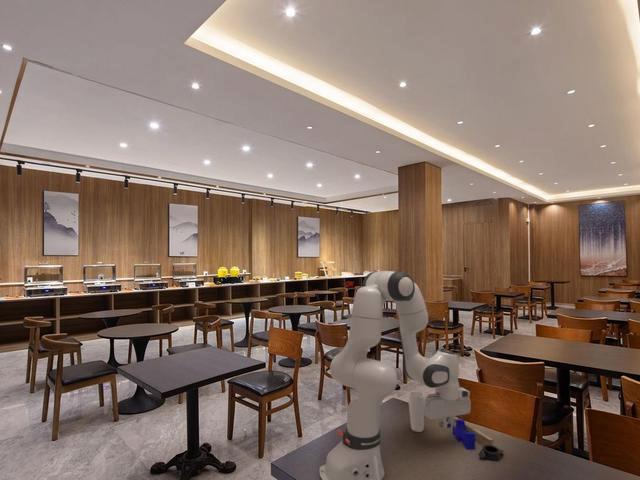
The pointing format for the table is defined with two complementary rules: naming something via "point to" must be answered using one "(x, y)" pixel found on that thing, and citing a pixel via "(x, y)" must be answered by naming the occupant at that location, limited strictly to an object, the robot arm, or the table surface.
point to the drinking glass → (416, 410)
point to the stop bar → (479, 436)
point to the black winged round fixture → (490, 453)
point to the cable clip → (464, 435)
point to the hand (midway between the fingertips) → (447, 427)
